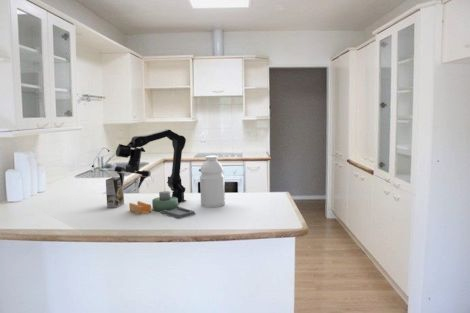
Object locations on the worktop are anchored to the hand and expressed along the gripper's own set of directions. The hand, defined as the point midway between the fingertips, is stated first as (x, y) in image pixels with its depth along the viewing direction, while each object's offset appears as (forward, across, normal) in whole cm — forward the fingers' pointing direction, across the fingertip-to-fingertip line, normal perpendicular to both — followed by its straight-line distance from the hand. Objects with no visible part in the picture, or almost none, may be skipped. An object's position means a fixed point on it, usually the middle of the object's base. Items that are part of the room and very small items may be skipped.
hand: (130, 186), depth 212 cm
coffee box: (+14, -9, +12) cm, 20 cm away
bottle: (+4, +46, +9) cm, 47 cm away
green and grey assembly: (+9, +26, -3) cm, 27 cm away
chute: (+12, +8, -2) cm, 15 cm away
